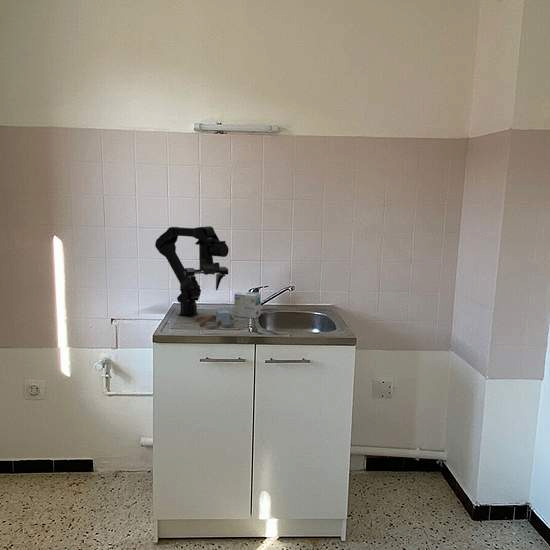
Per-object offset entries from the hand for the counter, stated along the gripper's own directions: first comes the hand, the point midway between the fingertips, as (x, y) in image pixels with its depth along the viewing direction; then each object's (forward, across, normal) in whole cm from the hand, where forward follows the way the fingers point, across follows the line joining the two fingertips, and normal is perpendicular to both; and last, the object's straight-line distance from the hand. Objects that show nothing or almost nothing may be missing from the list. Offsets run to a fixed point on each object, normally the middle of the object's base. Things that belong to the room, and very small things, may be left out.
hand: (206, 290), depth 213 cm
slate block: (+13, +5, -9) cm, 16 cm away
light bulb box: (+13, +19, 0) cm, 23 cm away
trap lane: (+13, +3, -11) cm, 17 cm away
